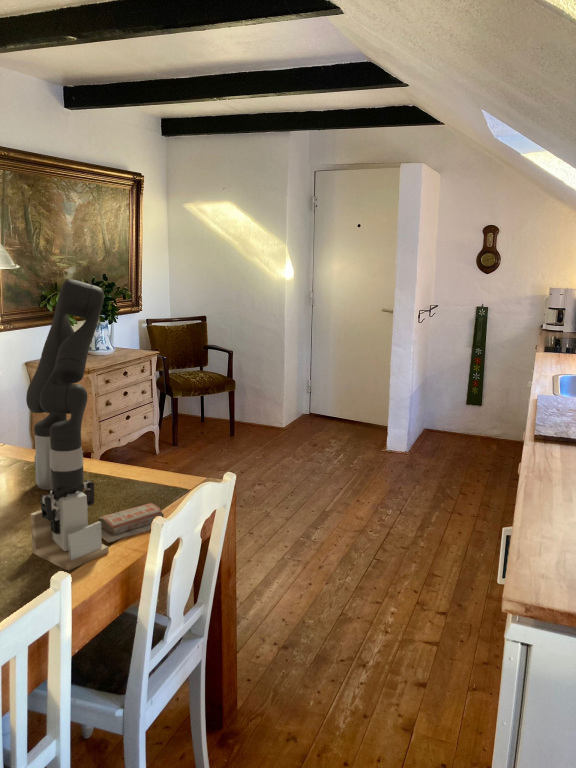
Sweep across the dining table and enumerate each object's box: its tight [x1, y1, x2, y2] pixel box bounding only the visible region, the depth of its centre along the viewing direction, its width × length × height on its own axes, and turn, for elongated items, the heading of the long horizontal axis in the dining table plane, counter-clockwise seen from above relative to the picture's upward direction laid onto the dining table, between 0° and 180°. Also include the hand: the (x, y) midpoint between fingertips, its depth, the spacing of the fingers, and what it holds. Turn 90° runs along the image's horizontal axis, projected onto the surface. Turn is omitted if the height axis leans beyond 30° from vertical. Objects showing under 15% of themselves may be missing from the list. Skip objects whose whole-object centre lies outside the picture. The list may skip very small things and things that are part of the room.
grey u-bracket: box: [30, 509, 110, 572], centre depth 161 cm, size 14×12×10 cm
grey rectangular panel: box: [68, 520, 103, 562], centre depth 157 cm, size 1×9×7 cm, turn 144°
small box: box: [49, 490, 89, 551], centre depth 160 cm, size 8×6×13 cm
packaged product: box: [98, 502, 165, 543], centre depth 176 cm, size 18×5×10 cm
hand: (69, 527), depth 160 cm, fingers closed on small box, 7 cm apart
